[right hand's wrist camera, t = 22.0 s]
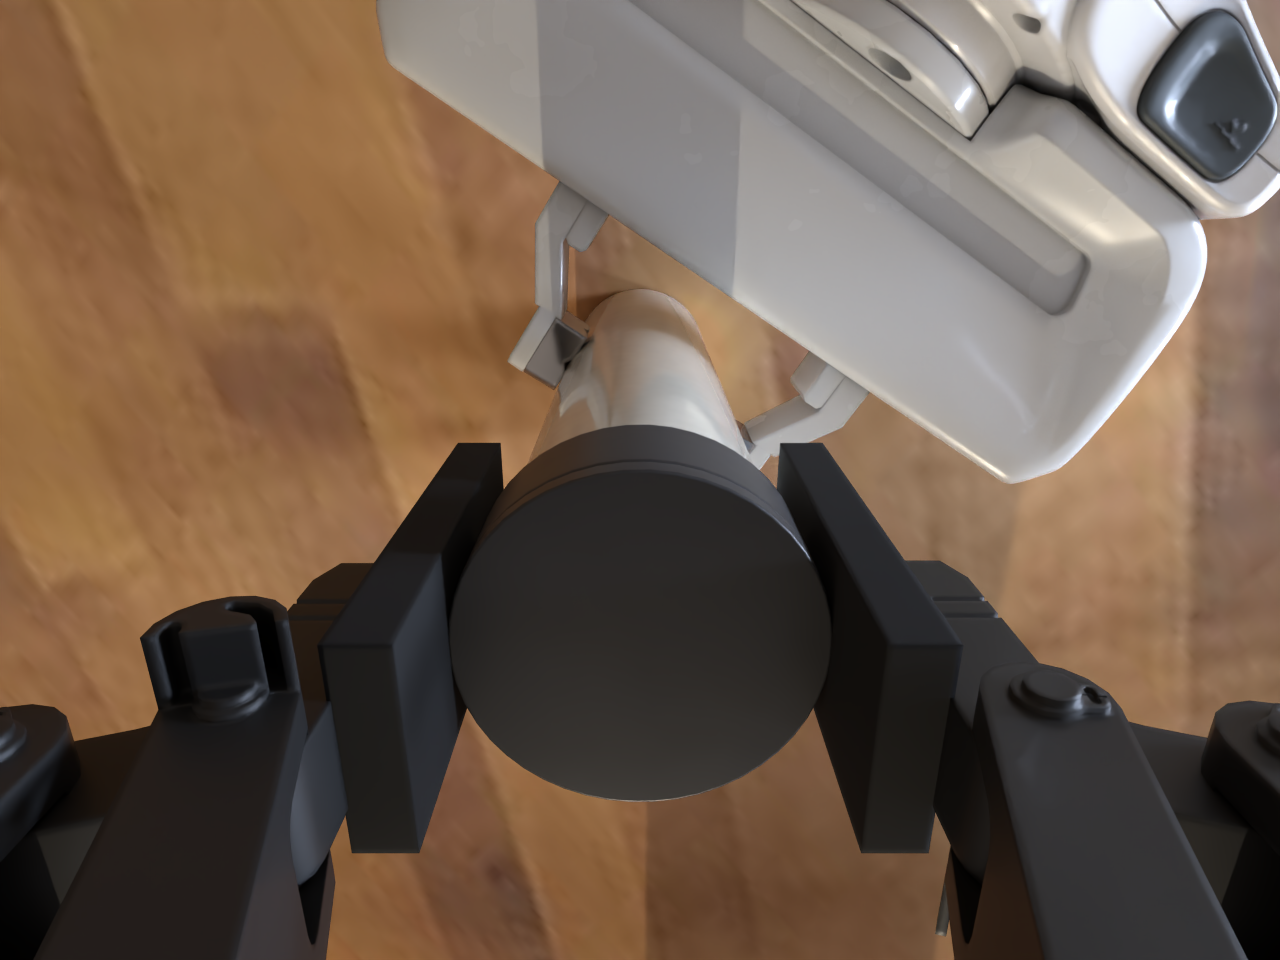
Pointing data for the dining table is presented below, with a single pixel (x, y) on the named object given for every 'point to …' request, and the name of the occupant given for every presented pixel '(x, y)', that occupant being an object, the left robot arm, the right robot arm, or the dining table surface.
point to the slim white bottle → (640, 375)
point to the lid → (640, 617)
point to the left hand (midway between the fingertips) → (623, 429)
